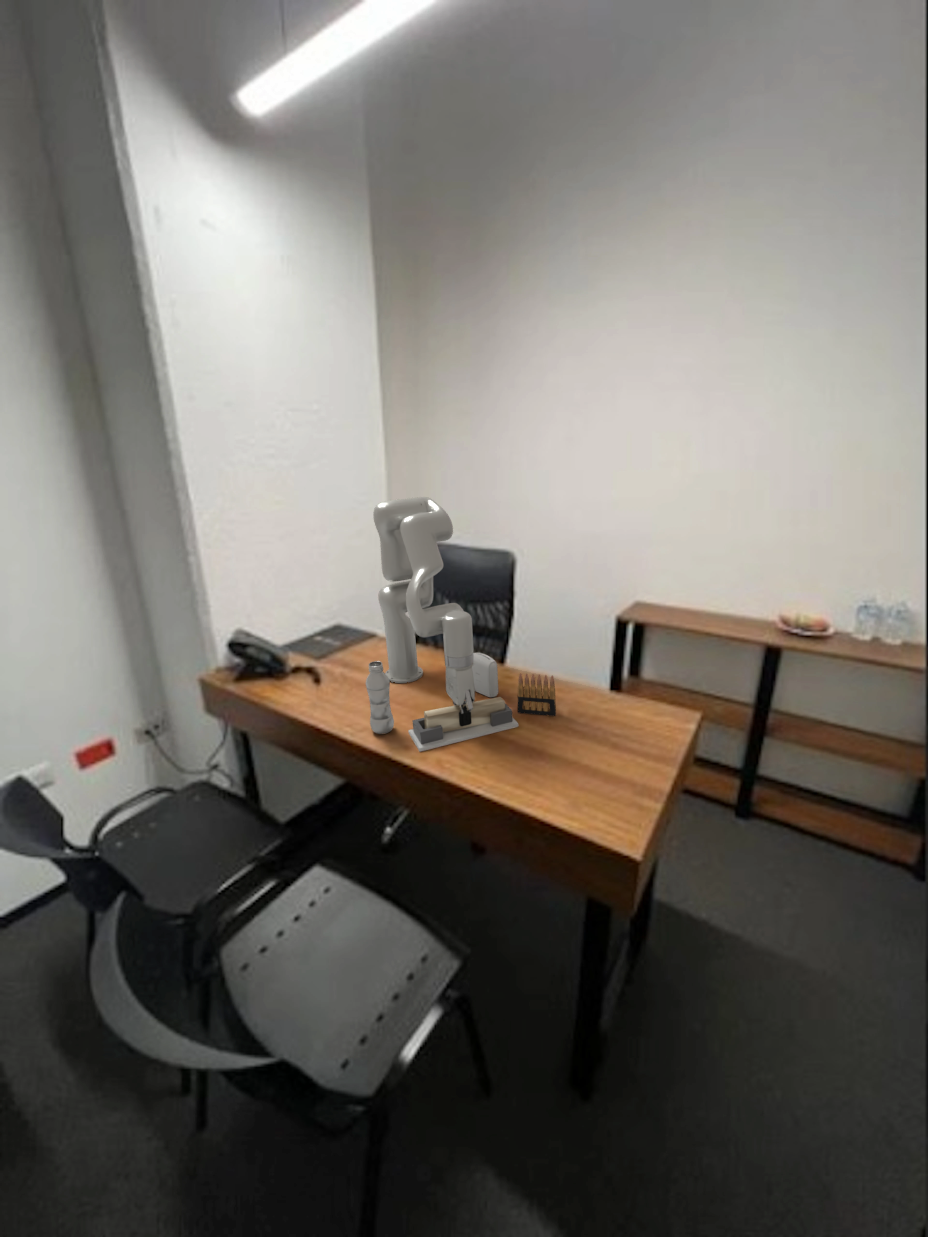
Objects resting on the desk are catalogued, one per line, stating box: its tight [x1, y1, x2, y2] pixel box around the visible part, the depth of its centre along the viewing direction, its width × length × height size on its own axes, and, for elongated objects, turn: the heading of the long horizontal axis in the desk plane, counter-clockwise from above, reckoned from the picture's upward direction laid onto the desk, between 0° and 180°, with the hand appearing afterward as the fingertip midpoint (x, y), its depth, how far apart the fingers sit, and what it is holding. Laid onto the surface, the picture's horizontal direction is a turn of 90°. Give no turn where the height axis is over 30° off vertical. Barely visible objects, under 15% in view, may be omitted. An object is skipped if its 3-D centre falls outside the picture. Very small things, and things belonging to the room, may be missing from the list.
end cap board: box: [408, 703, 519, 752], centre depth 152 cm, size 10×28×4 cm, turn 111°
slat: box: [423, 696, 506, 732], centre depth 152 cm, size 3×22×6 cm, turn 111°
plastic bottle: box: [365, 660, 395, 735], centre depth 152 cm, size 6×7×20 cm
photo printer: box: [472, 652, 499, 698], centre depth 172 cm, size 10×4×12 cm, turn 39°
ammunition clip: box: [517, 672, 557, 717], centre depth 158 cm, size 11×2×12 cm, turn 74°
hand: (463, 721), depth 152 cm, fingers closed on slat, 3 cm apart
